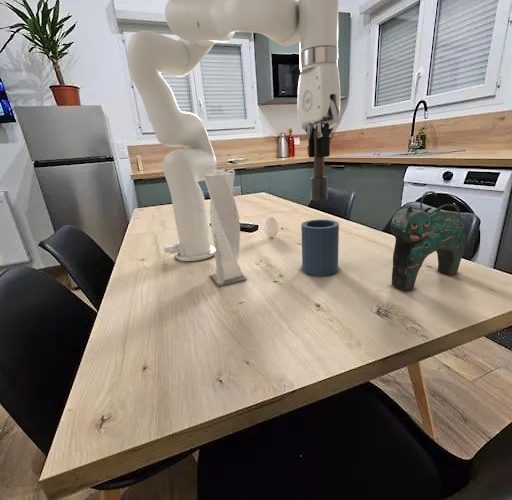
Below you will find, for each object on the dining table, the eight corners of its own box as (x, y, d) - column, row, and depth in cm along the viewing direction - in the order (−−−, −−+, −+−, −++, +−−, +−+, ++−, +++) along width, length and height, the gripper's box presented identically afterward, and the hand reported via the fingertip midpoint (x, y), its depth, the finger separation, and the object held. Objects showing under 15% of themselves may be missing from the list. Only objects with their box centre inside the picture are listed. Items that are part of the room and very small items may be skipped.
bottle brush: (316, 201, 67) (316, 129, 62) (307, 199, 70) (306, 131, 66) (330, 198, 68) (331, 129, 63) (321, 197, 72) (321, 130, 67)
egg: (277, 239, 103) (276, 218, 100) (262, 239, 105) (261, 218, 102) (281, 235, 108) (280, 214, 105) (267, 234, 109) (265, 214, 107)
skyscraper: (209, 274, 78) (195, 164, 69) (238, 267, 81) (228, 161, 72) (218, 286, 71) (203, 165, 62) (250, 278, 74) (240, 161, 64)
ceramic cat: (402, 295, 60) (412, 197, 54) (378, 284, 66) (384, 194, 60) (467, 274, 67) (482, 185, 61) (440, 265, 73) (451, 183, 67)
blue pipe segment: (314, 279, 71) (314, 230, 67) (296, 266, 79) (294, 223, 75) (345, 271, 74) (346, 224, 70) (324, 260, 82) (324, 217, 78)
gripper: (284, 72, 66) (287, 158, 72) (326, 49, 52) (325, 158, 58) (312, 72, 69) (313, 155, 75) (360, 50, 54) (356, 155, 60)
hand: (319, 156), depth 66 cm, fingers closed on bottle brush, 2 cm apart
